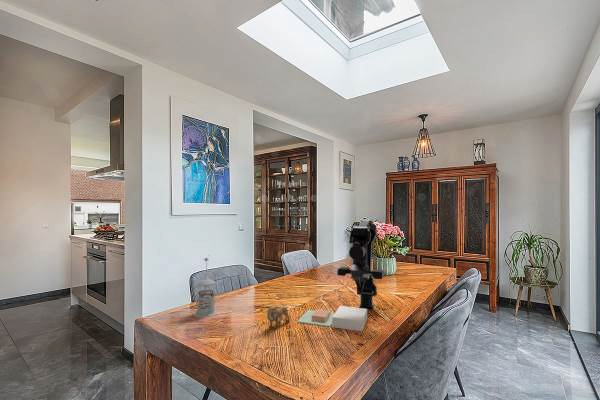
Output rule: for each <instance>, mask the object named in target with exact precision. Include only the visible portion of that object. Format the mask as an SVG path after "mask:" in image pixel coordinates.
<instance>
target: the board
mask: <svg viewBox="0 0 600 400" xmlns="http://www.w3.org/2000/svg"><path fill="white" fill-rule="evenodd" d="M334 313H335V314H334V316H333V317H332V324H331V326H332V327H331V328H336V329H342V330H350V331H357V332H363V331H364V329H365V326H366V322H367V320H368V309H364V308H359V307H354V306H345V305H339V306H338V308H337V310H336V311H335V312H334Z"/></svg>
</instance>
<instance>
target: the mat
mask: <svg viewBox="0 0 600 400" xmlns="http://www.w3.org/2000/svg"><path fill="white" fill-rule="evenodd" d="M315 311H316V310H309V309H308V310H306V311H305V312H304V314H303V315H302V316H301V317H300V318H299V319H298V320H297V321H296V322H297V323H298V324H306V325H312V326H321V327H327V328H329V327H331V326H332V317H333V316H334V314H335V313H336V312H331V315H330V317H329V318H328V319H327V321H326V322H320V321H312V315H313V314H314V312H315Z"/></svg>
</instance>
